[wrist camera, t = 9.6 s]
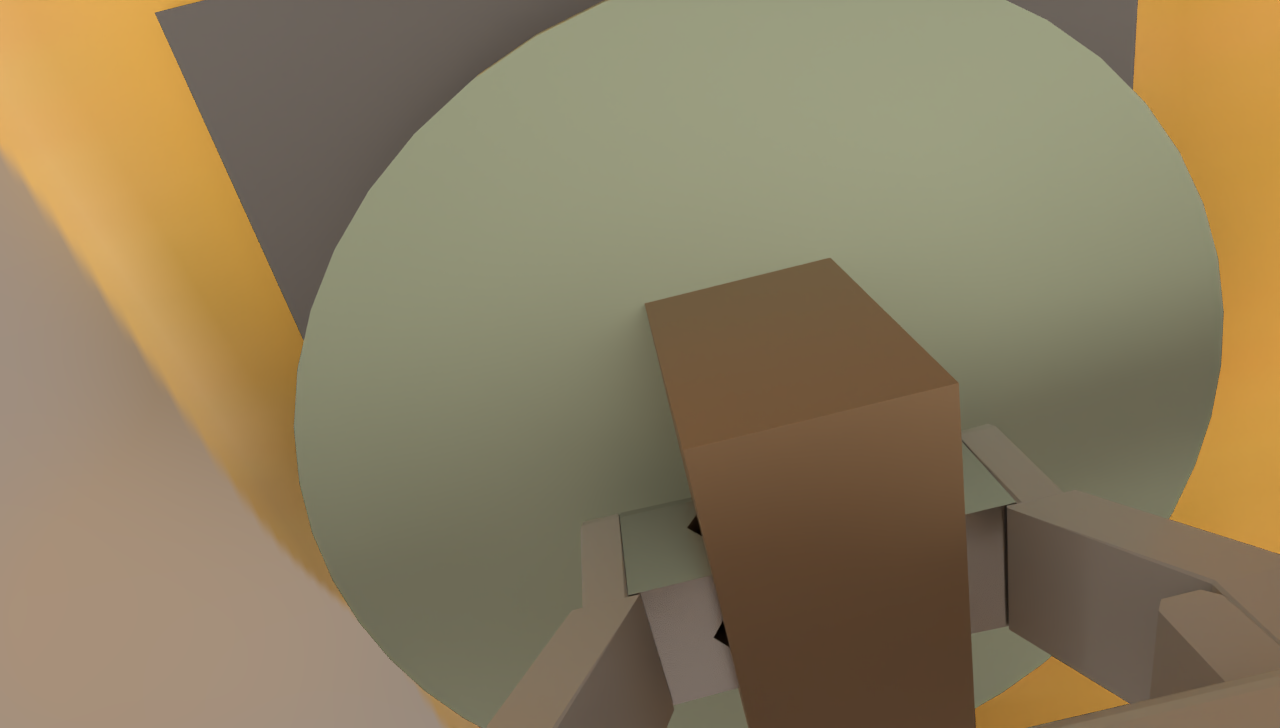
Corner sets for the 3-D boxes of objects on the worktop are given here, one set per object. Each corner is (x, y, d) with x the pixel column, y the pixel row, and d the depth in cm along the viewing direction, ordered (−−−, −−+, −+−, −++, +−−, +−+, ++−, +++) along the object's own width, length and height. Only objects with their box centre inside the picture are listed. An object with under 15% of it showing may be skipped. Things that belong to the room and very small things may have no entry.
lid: (1144, 641, 15) (1366, 888, 11) (480, 798, 15) (449, 1098, 11) (1214, -161, 9) (1750, -289, 5) (138, 113, 9) (-196, 204, 5)
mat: (1095, 550, 19) (1105, 560, 19) (471, 691, 20) (469, 704, 19) (1134, -230, 12) (1150, -236, 12) (166, 12, 13) (154, 13, 12)
